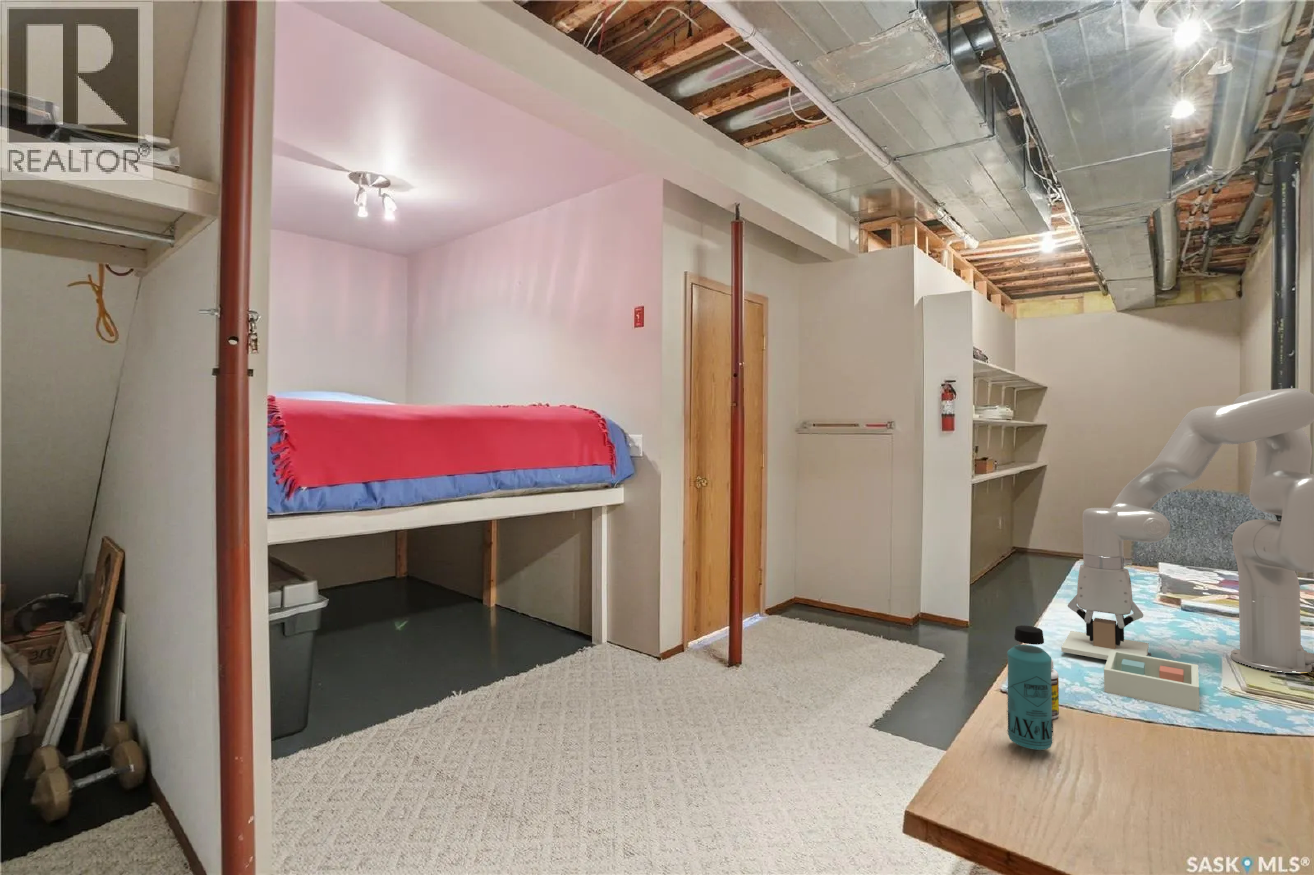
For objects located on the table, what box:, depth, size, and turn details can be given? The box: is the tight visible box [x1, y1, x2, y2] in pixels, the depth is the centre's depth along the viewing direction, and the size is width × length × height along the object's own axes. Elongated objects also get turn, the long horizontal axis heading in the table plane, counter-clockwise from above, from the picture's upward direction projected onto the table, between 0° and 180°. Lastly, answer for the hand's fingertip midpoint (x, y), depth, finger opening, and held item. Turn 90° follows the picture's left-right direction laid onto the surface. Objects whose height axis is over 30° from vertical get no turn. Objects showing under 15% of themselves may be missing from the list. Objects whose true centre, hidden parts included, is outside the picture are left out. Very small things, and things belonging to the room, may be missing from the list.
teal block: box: [1121, 659, 1145, 675], centre depth 125 cm, size 4×4×4 cm
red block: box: [1159, 666, 1184, 683], centre depth 121 cm, size 4×4×4 cm
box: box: [1103, 650, 1200, 713], centre depth 121 cm, size 14×14×5 cm
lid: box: [1060, 617, 1150, 661], centre depth 140 cm, size 15×15×6 cm
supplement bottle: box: [1051, 659, 1060, 720], centre depth 113 cm, size 6×6×10 cm
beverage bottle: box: [1006, 625, 1054, 751], centre depth 100 cm, size 6×7×20 cm
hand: (1105, 640), depth 140 cm, fingers open, 4 cm apart
